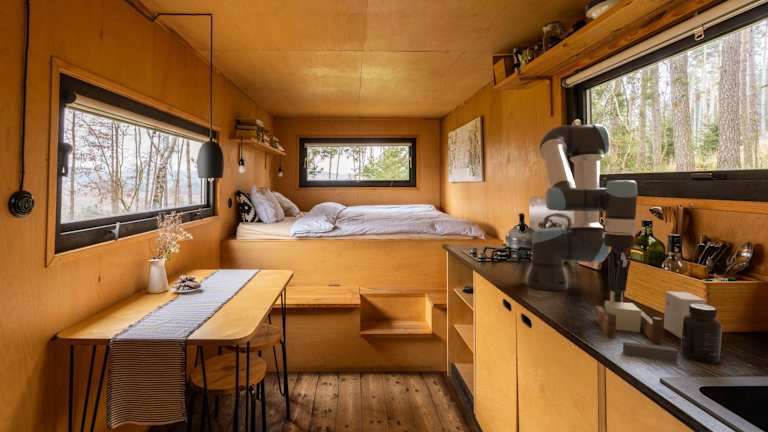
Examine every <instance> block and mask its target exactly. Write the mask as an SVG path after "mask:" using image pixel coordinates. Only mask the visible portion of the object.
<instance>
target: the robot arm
mask: <svg viewBox="0 0 768 432" xmlns="http://www.w3.org/2000/svg"><path fill="white" fill-rule="evenodd" d="M610 143H611V141H610V133H609V131H608V129H607V128H606V126H605V125H603V124H597V123H596V124H594V123H590V124H570V125H569V124H567V125H566V124H565V125H559V126H555V127H554V128H552V129H550V130H549V131H548V132H546V133H545V134H544V135H543V137H542V139H541V140H540V144H539V153H540V156H541V158H542V159H543V160H544V164H545V168H546V173H547V177H548V182H549V186H550V187H549V188H547V190H546V194H545V206H546V209H548V210H550V211H559V212H573V224H571V225H570V226H569V231H566V229H565V227H547V228H545V227H544V228H540V229H536V230H534V232H533V233H532V239H531V246H532V247H531V266H530V269H529V271H528V274H527V276H526V279H525V281H526V282H525V285H526V286H528V287H529V288H532V289H536V290H539V291H549V292H551V291H552V292H563V291H566V290H567V289H568V285H569V283H568V279H567V276H566V272H565V270H564V262H572V263H573V262H574V263H590V264H592V263H597V264H598V263H602V262H604V261H605V260H606V258H607V263H608V264H607V265H608V266H607V267H608V272H607V273H608V286H609V290H610V299H609V301H612V302H623V296H624V295H623V293H624V292H626V291H627V290H626V289H627V284H628V276H629V275H628V274H629V270H630V265H631V260H629V254H628V250H627V249H631V248H634V247H635V239H636V236H635V233H636V225H637V224H636V223H637V219H636V217H637V201H638V200H637V199H638V194H639V193H638V184H637V182H636V181H635V180H628V179H627V180H626V179H625V180H623V179H622V180H620V179H619V180H609V181H607V184H606V187H600V162H601V161H603V159H604V155H606V154H608V152H609V149H610ZM567 156H569V161H571V162H572V163H573V165H574V168H573V169H574V170H573V172H574V173H573V174H574V175H573V174H572V170H571V167H570V163H569V161H568V157H567ZM573 176H574V177H573ZM600 212H605V213H604V214H605V217H604V219H605V220H604V221H603V222H602V224H603V225H604V226H603V225H602V224H601V223H600Z"/></svg>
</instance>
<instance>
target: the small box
mask: <svg viewBox="0 0 768 432" xmlns="http://www.w3.org/2000/svg"><path fill="white" fill-rule="evenodd" d="M664 300H665V301H664V318H663V320H664V321H663V329H664V330H667V331H668V332H669V333H671V334H673V335H675V336H676V337H678V338H679V339H681V337H682V322H683V318H684V316H686V315H689V314H690V313H689V305H690V304H693V303H696V304H705V305H707V300H706V299H704V298H702V297H699V296H697V295H695V294H692V293H690V292H688V291H687V292H685V291H668V290H667V291H665V299H664Z"/></svg>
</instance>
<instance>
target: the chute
mask: <svg viewBox="0 0 768 432" xmlns="http://www.w3.org/2000/svg"><path fill="white" fill-rule="evenodd" d="M594 319H595V321H596V322H597V324H598V325H599V326H600V328H601V329H602V331H603V332H604V334H606V336H607V337H608V338H612V339H615V338H616V315H615V314H614V313H607V312H606V311H605V308H603V306H599V305H598V306H597V305H596V306H595V318H594ZM662 324H663V318H661V317H657V316H652V318H651V317H650V316H649V315H647V314H646V313H645V312H644V311H643V310H641V324H640V331H642V332H643V334H645V335H646V336H647V337H648V338H649V339H650V340H651V341H652V342H653V343H658V344H661V343H662V328H663V325H662Z"/></svg>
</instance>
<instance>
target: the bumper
mask: <svg viewBox="0 0 768 432" xmlns="http://www.w3.org/2000/svg"><path fill="white" fill-rule="evenodd" d="M622 344H623V345H622V353H623V354H624V356H626V357H632V358H633V357H634V358H641V359H649V360H658V361H659V360H660V361H666V362H675V363H677V362H678V356H679V354H678V353H679V352H678V350H677V349H676V348H675V347H674V346H664V345H655V344H647V343H637V342H627V341H623V343H622Z"/></svg>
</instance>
